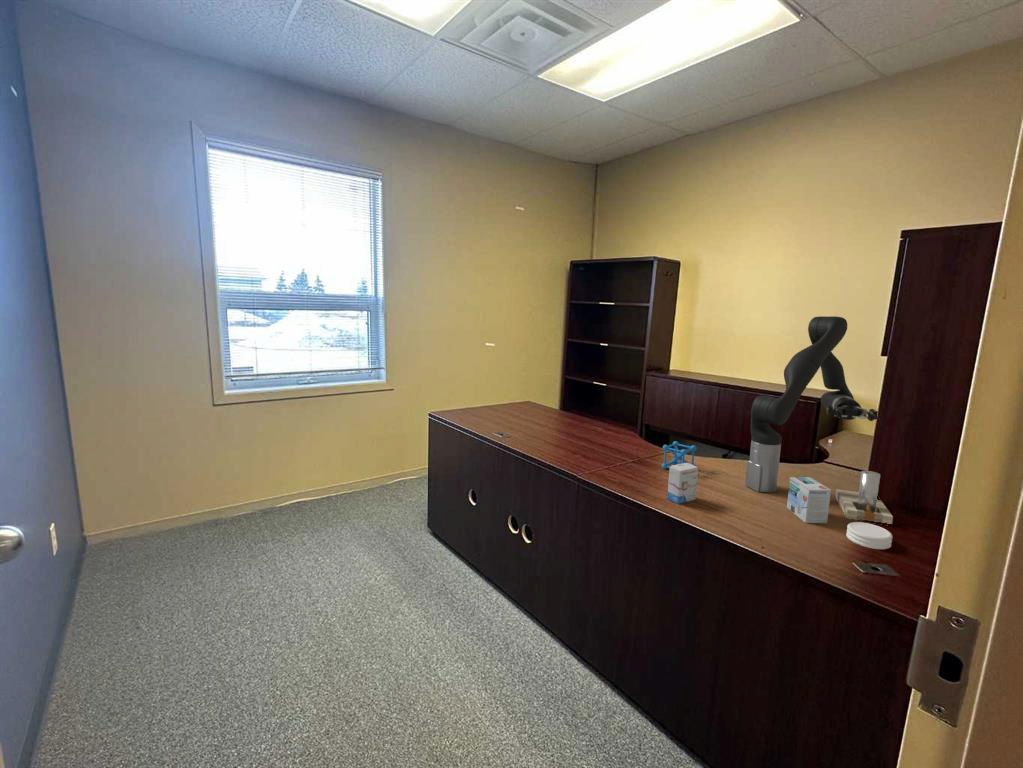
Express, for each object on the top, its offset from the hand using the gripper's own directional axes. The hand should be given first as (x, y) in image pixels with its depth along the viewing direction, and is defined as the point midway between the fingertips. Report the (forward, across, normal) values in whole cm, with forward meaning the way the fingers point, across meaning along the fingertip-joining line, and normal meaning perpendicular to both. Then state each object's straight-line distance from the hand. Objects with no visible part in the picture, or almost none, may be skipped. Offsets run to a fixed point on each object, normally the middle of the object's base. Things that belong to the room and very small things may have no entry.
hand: (856, 416), depth 155 cm
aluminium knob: (+17, +2, +28) cm, 33 cm away
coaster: (+35, -1, +28) cm, 45 cm away
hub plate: (+12, +2, +28) cm, 31 cm away
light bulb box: (+24, -14, +28) cm, 40 cm away
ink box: (+28, -51, +28) cm, 65 cm away
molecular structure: (-3, -55, +28) cm, 62 cm away
